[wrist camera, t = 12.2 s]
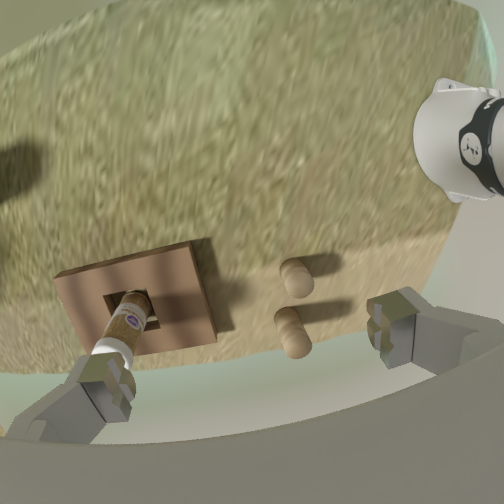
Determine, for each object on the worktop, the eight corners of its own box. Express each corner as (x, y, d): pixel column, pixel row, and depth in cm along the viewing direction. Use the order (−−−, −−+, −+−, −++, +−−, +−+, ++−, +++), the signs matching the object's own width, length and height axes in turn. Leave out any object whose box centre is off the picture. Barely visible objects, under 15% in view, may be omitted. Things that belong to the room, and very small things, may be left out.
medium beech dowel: (298, 306, 45) (313, 335, 38) (296, 326, 46) (310, 357, 39) (274, 308, 45) (286, 338, 38) (273, 328, 46) (284, 360, 39)
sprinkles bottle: (156, 299, 43) (135, 359, 30) (145, 323, 44) (123, 386, 32) (126, 284, 42) (95, 340, 29) (116, 310, 43) (86, 368, 30)
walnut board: (190, 240, 41) (188, 246, 38) (216, 332, 46) (216, 342, 43) (60, 272, 40) (52, 279, 38) (95, 352, 45) (91, 361, 43)
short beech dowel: (302, 255, 43) (312, 269, 38) (306, 278, 44) (315, 294, 39) (277, 261, 43) (284, 276, 38) (281, 284, 44) (288, 301, 39)
